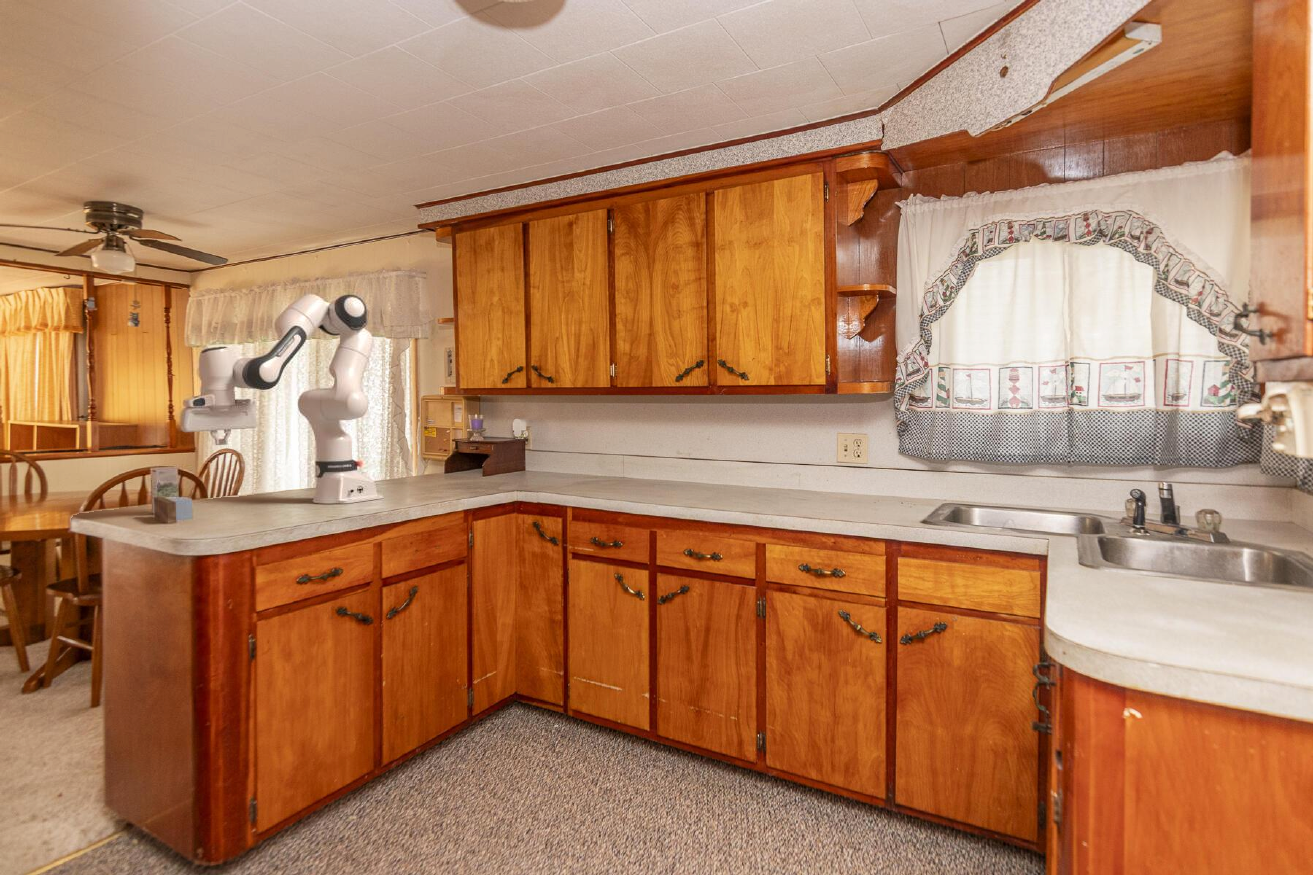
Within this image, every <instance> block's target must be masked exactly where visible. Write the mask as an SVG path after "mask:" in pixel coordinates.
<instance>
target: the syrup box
mask: <svg viewBox="0 0 1313 875" xmlns="http://www.w3.org/2000/svg"><path fill="white" fill-rule="evenodd" d="M149 470H150V487H151V488H150V489H151V491H150V493H151V494H150V495H151V513H152V514H153V515H155V510H154V497H164V498H177V497H180V496H179V469H178V467H177V466H175V465H168V466H154V467H150V469H149Z"/></svg>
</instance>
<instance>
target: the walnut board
mask: <svg viewBox="0 0 1313 875" xmlns="http://www.w3.org/2000/svg"><path fill="white" fill-rule="evenodd" d="M154 510H155V514H154V518H156V519H157V520H160V521H162V522H164V523H166V524H169V525H170V524H176V523H177V521H176V502H174V501H172V500H169V499H167V498H164V497H154Z"/></svg>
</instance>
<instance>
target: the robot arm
mask: <svg viewBox="0 0 1313 875" xmlns="http://www.w3.org/2000/svg"><path fill="white" fill-rule="evenodd" d="M367 312H368V309H367V306H366V303H365V301H364V300H363V299H362V298H361V297H359V296H357V295H355V294H344V295H341V296H339V297H337V298H335V299H334V300H333V301H331V302H328V301H327V302H326V301H325V300H324V299H323V298H322V297H320V296H318V295H316V294H313V293H308V294H304V295H303V296H301V297H299V298H297V299H296V300H295V301H293V302H291V304H289V305H288V306H287V307H286V308H285V309H284V310H283V311H282V312H281V313H280V314H279V315H278V316H277V318H276V320H275V321H274V323H273V324H274V331H275V332H276V335H277V336H278V337H279V339H278V341H276V343H275V344H274V345H273V347H271V349H270V350H269V351H268V352H266V354H263V355H261V356H258V357H246V356H243V355H240V354H238V353H236V352H234V351H233V350H231V349H230V347H227V346H214V347H209V348H205V349H202V350H201V351H200V353H199V357H198V377H199V379H200V382H201V383H200V384H201V386H200V394H199V395H196V396H193V397H190V398H187V399H183V401H182V405H183V407H184V408H182V409H181V411H180V416H179V424H180V425H179V427H180V430H181V431H182V432H184V433H195V432H209V434H210V436H211V437H212V438H213V439H214V444H215V445H216V446H223V445H224V446H225V445H226V446H227V445H228V444H229V443H228V439H229V438H230V436H231V434H232V430H243V429H244V430H245V429H256V428H257V427H258V425H259V423H258V417H257V403H256V402H255V401H254V400H252V399H251V398H246V399H245V398H244V399H242V398H241V399H239V398H237V399H236V394H235V392H236V390H235V388H237V389H253V390H255V389H256V390H262V391H263V390H264V391H267V390H271V389H273V388H274V387H276V385H278V384H279V382H280V379H281V377H282V376H283V372H284V370H285V368H286V367H287V365H288V364H289V363H290V362H291V360H292V359H294V357H295V356H296V355H297V353H298V352H299V351H300V350H301V348H302V347H303V346H304V344H305V343H306V341H307V340H308V339H309V338H310V336H312V335H313V333H315V331H316V330H317V329H320V330H321V331H323V333H324V334H326V335H329V336H334V337H335V336H339V343H338V345H337V348H336V349H335V352H334V354H333V357H332V360H331V362H330V364H329V366H328V372H329V374H330V375H331V377H332V378H333V380H334V381H333V385H332V386H331V387H329V388H328V387H327V388H324V387H323V388H313V389H308V390H306V391H303V392H302V393H301V394H300V395H299V397H298V400H297V407H298V408H297V409H298V411H299V413H300V414H301V415H302V416H303V417H304V418H305V419H306V420H307V421H308V423H309V425H310V427H311V430H312V432H313V435H314V438H315V448H316V449H315V450H316V461H315V466H314V467H315V468H314V471H315V477H316V484H315V491H314V495H313V500H312V503H314V504H345V505H346V504H352V503H353V504H354V503H359V502H367V501H371V500H379V499H380V500H381V499H384V495H383V493H379V492H377V486H376V483H375V481H374V480H373V479H372V478H371V477H369V476H367V475H366V474H364V473H363V472H361V471H360V470H359V469H358V467H362V466H363V465H364V463H363V461H361V460H355V459H353V450H352V448H353V446H352V445H353V444H352V436H350V434H348V433H347V432H346V431H345V430H344V429H343V427H342V424H341V422H340V421H353V420H356V419H359V418H362V417H364V416H365V415H366V414H367V412H368V409H369V401H368V398H367V396H366V394H365V393H364V392H363V389H362V384H363V383H362V381H363V378H364V374H365V372H366V369H367V366H368V363H369V361H370V357H371V354H372V350H373V345H374V338H373V334H372V333H371V332H370V331H368V330H367V329H365V328H366V326H367V325H368V319H367V314H368V313H367ZM218 431H223V433H224V434H225V435H224V437H223V438H219V437H218V436H217V435H218Z"/></svg>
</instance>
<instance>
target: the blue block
mask: <svg viewBox="0 0 1313 875" xmlns="http://www.w3.org/2000/svg"><path fill="white" fill-rule="evenodd" d="M167 499H169V500H172V501H174V502H176V521H187V520H192V519H194V518H193V517H194V516H193V515H194V514H193V511H194V510H193V498H191V497H187V496H179V497H177V498H167Z"/></svg>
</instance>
